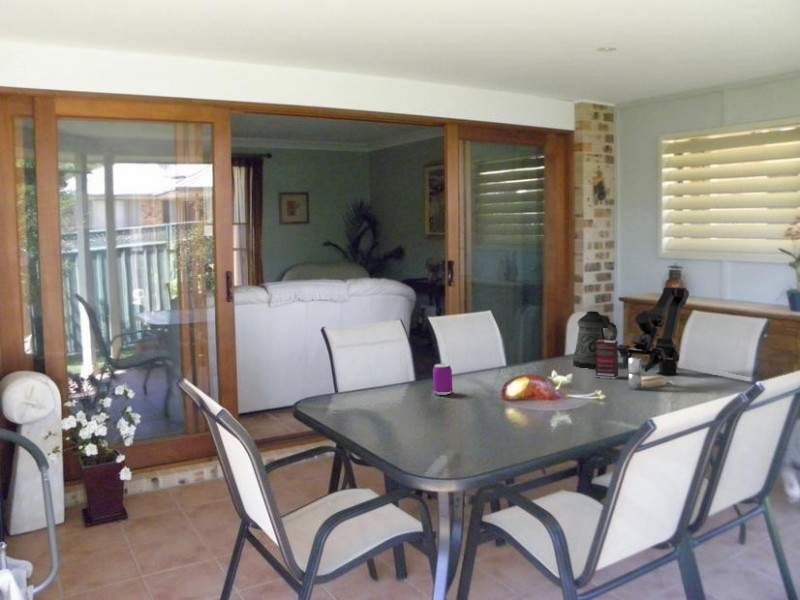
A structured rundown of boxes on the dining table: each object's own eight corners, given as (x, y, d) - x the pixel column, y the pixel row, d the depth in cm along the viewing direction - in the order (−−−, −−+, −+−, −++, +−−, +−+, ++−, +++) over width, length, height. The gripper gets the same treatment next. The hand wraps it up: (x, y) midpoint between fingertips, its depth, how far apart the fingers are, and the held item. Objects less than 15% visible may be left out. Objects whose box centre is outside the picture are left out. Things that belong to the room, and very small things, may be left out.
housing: (625, 388, 293) (625, 357, 292) (634, 386, 296) (634, 356, 294) (634, 390, 289) (634, 359, 287) (644, 389, 291) (644, 358, 290)
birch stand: (629, 383, 302) (629, 378, 301) (650, 378, 307) (650, 374, 307) (651, 388, 291) (651, 383, 291) (673, 384, 296) (673, 379, 296)
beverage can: (451, 396, 292) (450, 367, 291) (432, 396, 294) (431, 367, 292) (453, 391, 300) (452, 363, 298) (435, 391, 301) (434, 363, 300)
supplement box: (618, 377, 313) (618, 340, 311) (615, 379, 309) (615, 342, 307) (598, 375, 317) (598, 339, 315) (595, 377, 313) (594, 341, 311)
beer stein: (570, 362, 346) (569, 309, 343) (612, 361, 344) (612, 308, 341) (575, 369, 330) (574, 314, 327) (619, 368, 328) (618, 313, 325)
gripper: (619, 324, 299) (605, 355, 293) (663, 328, 286) (650, 360, 280) (628, 340, 306) (615, 371, 299) (671, 345, 293) (659, 377, 286)
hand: (634, 369), depth 291 cm, fingers open, 9 cm apart
